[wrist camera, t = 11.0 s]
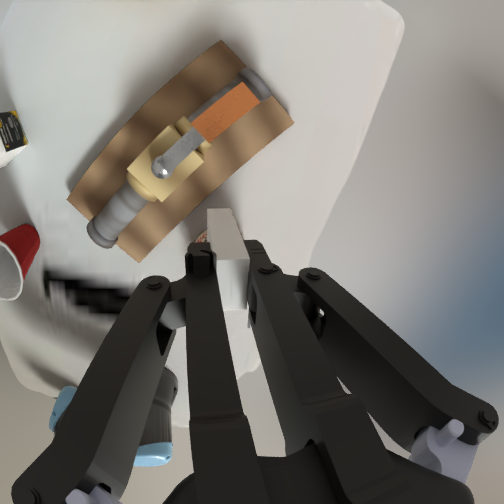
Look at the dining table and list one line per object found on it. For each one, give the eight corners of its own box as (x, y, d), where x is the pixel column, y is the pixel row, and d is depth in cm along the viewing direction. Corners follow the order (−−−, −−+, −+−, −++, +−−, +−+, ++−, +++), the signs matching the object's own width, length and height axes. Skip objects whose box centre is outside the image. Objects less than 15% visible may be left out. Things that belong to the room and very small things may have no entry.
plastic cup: (60, 233, 38) (28, 271, 28) (40, 272, 41) (14, 312, 30) (19, 197, 33) (-20, 226, 23) (3, 240, 36) (-29, 273, 25)
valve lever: (165, 181, 30) (163, 185, 28) (147, 163, 29) (144, 167, 27) (256, 102, 27) (260, 102, 26) (239, 83, 26) (242, 81, 24)
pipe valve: (141, 257, 43) (131, 289, 36) (71, 195, 36) (46, 216, 28) (290, 122, 37) (313, 126, 29) (220, 43, 29) (225, 25, 22)
